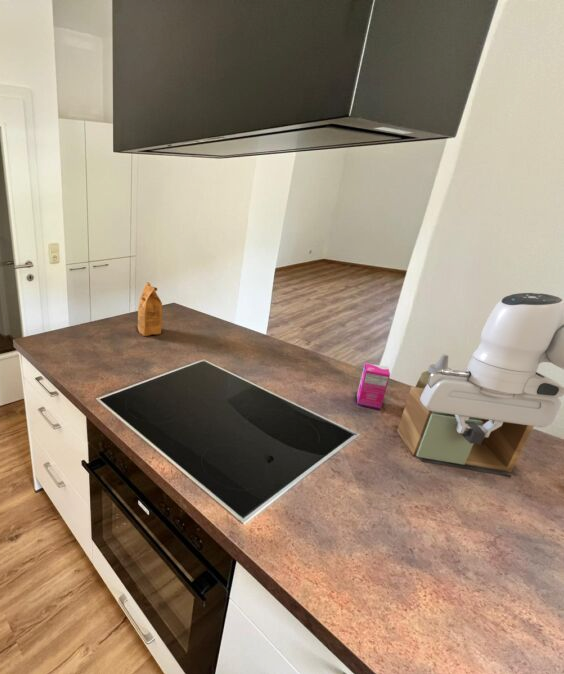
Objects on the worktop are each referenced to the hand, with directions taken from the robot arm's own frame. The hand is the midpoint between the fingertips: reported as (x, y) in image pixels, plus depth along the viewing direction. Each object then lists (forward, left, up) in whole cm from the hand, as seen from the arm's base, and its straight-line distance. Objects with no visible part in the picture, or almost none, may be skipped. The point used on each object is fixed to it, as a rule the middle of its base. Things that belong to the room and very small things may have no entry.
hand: (471, 433), depth 75 cm
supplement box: (+10, -26, -10) cm, 30 cm away
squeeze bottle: (-3, -24, -10) cm, 27 cm away
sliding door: (+2, 0, -9) cm, 9 cm away
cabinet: (-2, -8, -10) cm, 13 cm away
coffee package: (+85, -66, -10) cm, 108 cm away
